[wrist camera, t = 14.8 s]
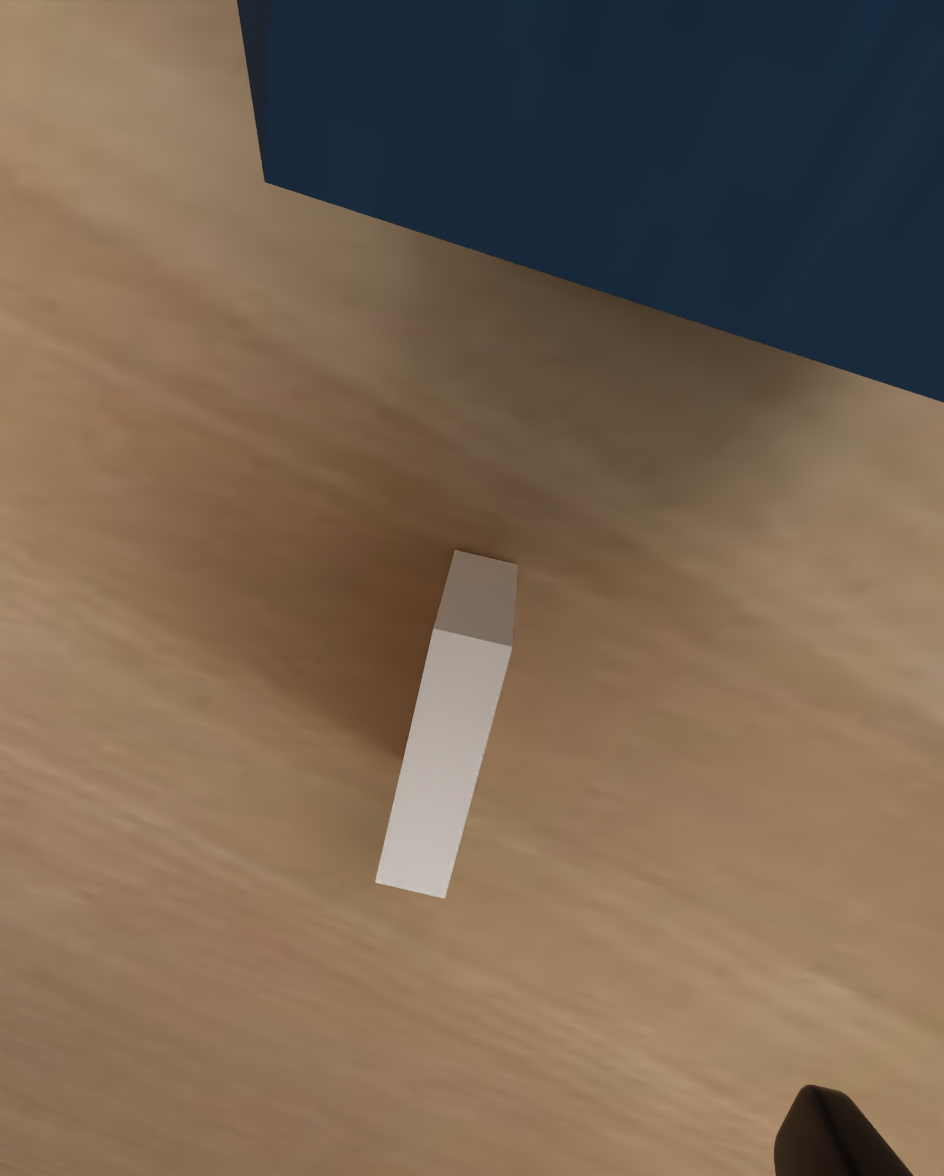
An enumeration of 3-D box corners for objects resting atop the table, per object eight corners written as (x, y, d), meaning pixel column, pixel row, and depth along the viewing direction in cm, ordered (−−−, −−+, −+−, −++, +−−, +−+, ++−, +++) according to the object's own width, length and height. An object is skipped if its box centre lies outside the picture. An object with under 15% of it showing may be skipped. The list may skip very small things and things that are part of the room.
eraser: (519, 563, 16) (513, 648, 13) (463, 777, 18) (445, 901, 15) (454, 547, 16) (431, 628, 13) (404, 763, 18) (372, 884, 15)
